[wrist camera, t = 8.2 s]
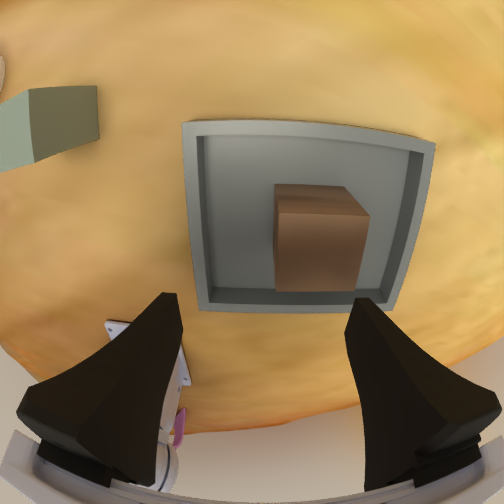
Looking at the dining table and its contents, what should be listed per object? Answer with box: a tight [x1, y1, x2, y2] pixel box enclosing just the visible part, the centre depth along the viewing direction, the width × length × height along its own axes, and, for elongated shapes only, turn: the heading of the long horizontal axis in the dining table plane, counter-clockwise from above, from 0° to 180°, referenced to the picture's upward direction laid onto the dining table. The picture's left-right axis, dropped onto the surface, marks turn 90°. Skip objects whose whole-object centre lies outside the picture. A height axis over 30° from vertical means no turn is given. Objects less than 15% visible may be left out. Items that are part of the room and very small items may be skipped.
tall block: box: [0, 86, 100, 173], centre depth 12 cm, size 4×4×7 cm
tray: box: [182, 118, 436, 313], centre depth 18 cm, size 13×15×2 cm
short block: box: [273, 184, 371, 292], centre depth 16 cm, size 4×4×5 cm
